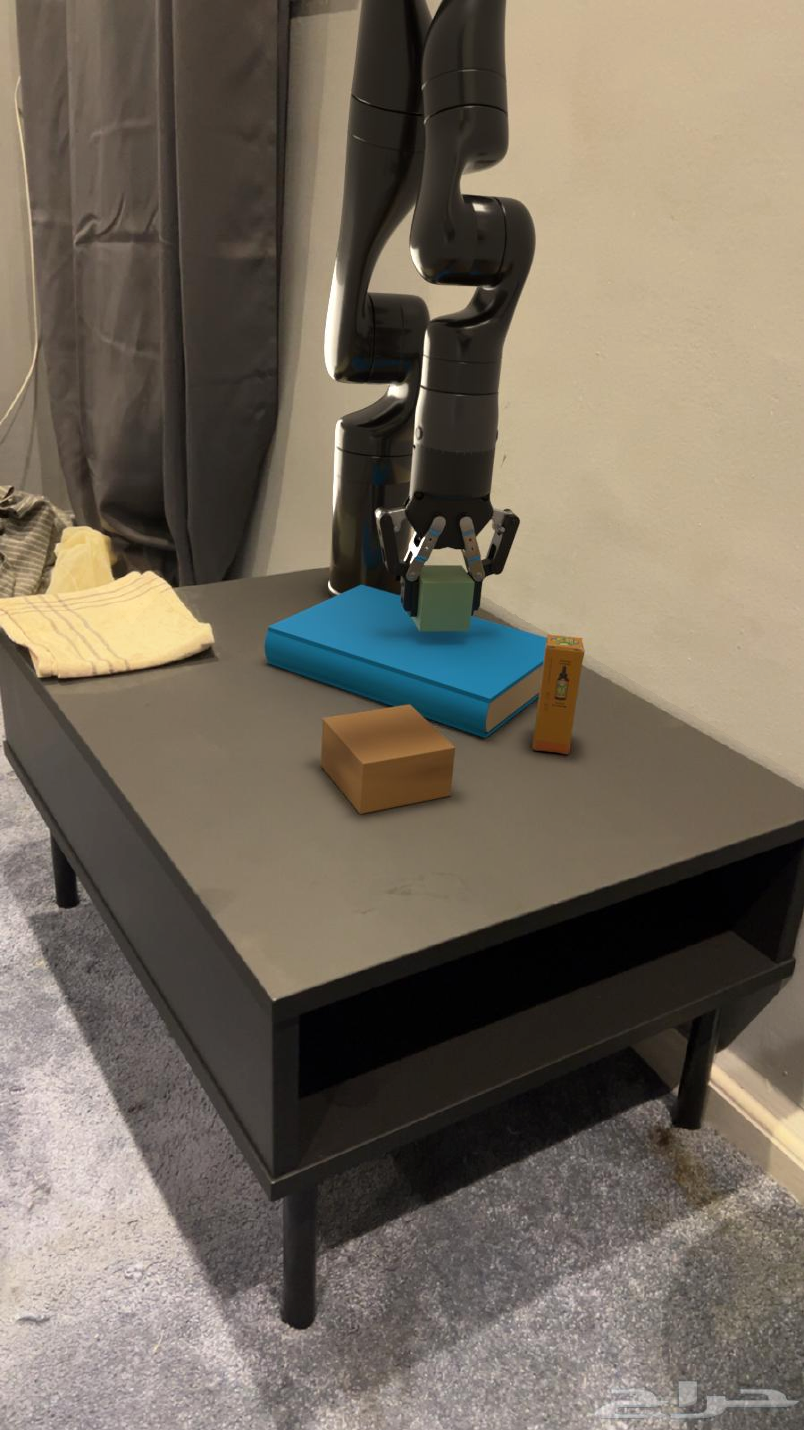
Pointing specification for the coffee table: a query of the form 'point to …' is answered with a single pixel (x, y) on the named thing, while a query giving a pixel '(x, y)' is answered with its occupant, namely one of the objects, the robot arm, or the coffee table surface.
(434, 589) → the green block
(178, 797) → the coffee table surface
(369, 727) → the oak block
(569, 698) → the supplement box
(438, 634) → the book
